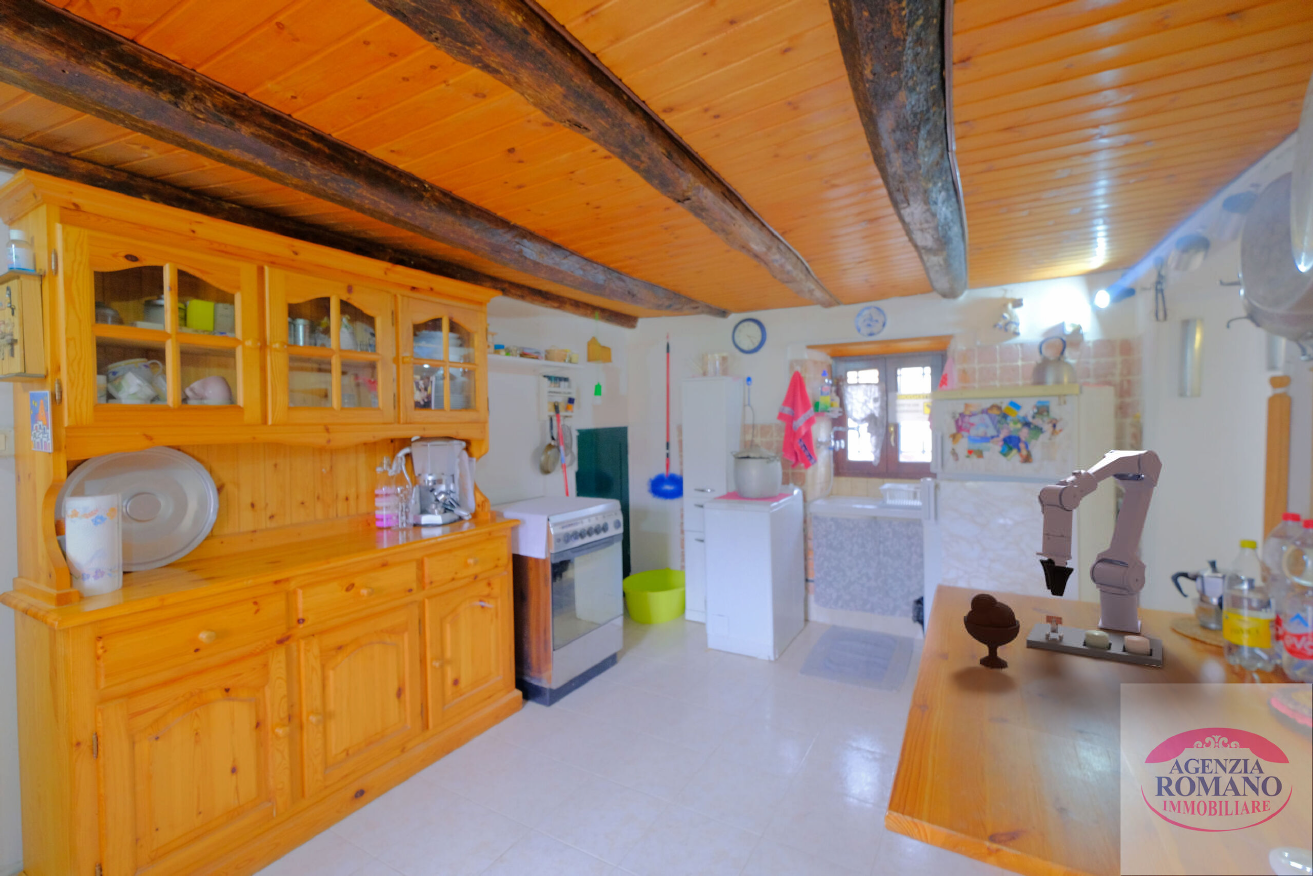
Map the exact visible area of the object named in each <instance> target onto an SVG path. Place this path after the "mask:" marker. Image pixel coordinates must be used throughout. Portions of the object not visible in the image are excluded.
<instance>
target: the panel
mask: <svg viewBox="0 0 1313 876" xmlns="http://www.w3.org/2000/svg"><path fill="white" fill-rule="evenodd" d="M1087 630H1088V629H1086V628H1078V627H1072V626H1065V625H1058V633H1051V623H1042V622H1035V624H1034V626H1033V627H1032V629H1031V631H1030V632H1029V634H1028V636H1027V638H1026V639H1025V640H1026V647H1031V646H1032V647H1031V648H1038V649H1045V650H1051V651H1055V652H1063V653H1068V654H1075V655H1081V656H1089V657H1095V658H1100V659H1107V660H1114V661H1118V662H1125V663H1132V664H1137V665H1143V664H1148V665H1147V666H1150V665H1156V666H1162V667H1163V640H1162V639H1159V638H1152V637H1145V636H1143V637H1144V638H1147V639H1149V642H1150V655H1139V654H1133V653H1128V652H1126V651H1125V639H1124V637H1125V636H1132V635H1128V634H1123V633H1115V632H1108V631H1104V632H1105V633H1107V634H1108V638H1109V648H1108V649H1100V648H1093V647H1088V646H1086V641H1085V631H1087ZM1151 655H1152V656H1151ZM1156 666H1155V667H1156Z"/></svg>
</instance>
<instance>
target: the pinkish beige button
mask: <svg viewBox="0 0 1313 876" xmlns="http://www.w3.org/2000/svg"><path fill="white" fill-rule="evenodd" d="M1144 637H1145V636H1140V635H1131V636H1125V637H1124V639H1125V651H1126V653H1133V654H1139V655H1146V656H1151V655H1150V642H1149V639H1147V638H1148V637H1145V638H1144Z"/></svg>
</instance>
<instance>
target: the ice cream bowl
mask: <svg viewBox="0 0 1313 876" xmlns="http://www.w3.org/2000/svg"><path fill="white" fill-rule="evenodd" d="M970 609H971V610H969V611H968V612H967V614H966V615H964V616H963V623H964V628H965V630H966V631H967V634H969V635H970V636H971V638H973V639H975V641H977V642H979V643H980V644H983V645H985V646H986V647H987V649H988V650H987V651H988V655H986V656H984V657H981V658H980V659H979V665H981V664H982V665H981V666H983V665H984V666H983V667H985V666H986V667H985V668H988V667H990V668H989V669H993V668H998V669H997V670H1000V669H999V668H1001V670H1003V669H1002V668H1004V669H1005V668H1009V666H1008V663H1007V660H1005V659H1003V658H1001V657H1000V656H999V655H998V648H999V647H1002V646H1005V645H1008V644H1010V643H1011V642H1012V641H1014V640H1015V639H1016V638H1017V637H1018V636H1019V633H1020V627H1021V625H1020V621H1019V620H1018V619H1016V614H1015V612H1014V611H1013V609H1012V608H1011V607H1010V606H1009V605H1008V604H1006V603H1003V602H1001V601H998V600H997V598H996V597H994V596H993V595H991V594H990V593H989V594H988V593H983V592H982V593H979V594H978V593H977V594H976V595H975V596H974V597H972V599H971V602H970Z"/></svg>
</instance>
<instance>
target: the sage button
mask: <svg viewBox="0 0 1313 876" xmlns="http://www.w3.org/2000/svg"><path fill="white" fill-rule="evenodd" d="M1105 632H1106V631H1101V630H1095V629H1094V630H1093V629H1087V631H1085V641H1086V646H1087V647H1093V648H1100V649H1106V650H1109V649H1108V648H1109V638H1108V634H1107V633H1105Z"/></svg>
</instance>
